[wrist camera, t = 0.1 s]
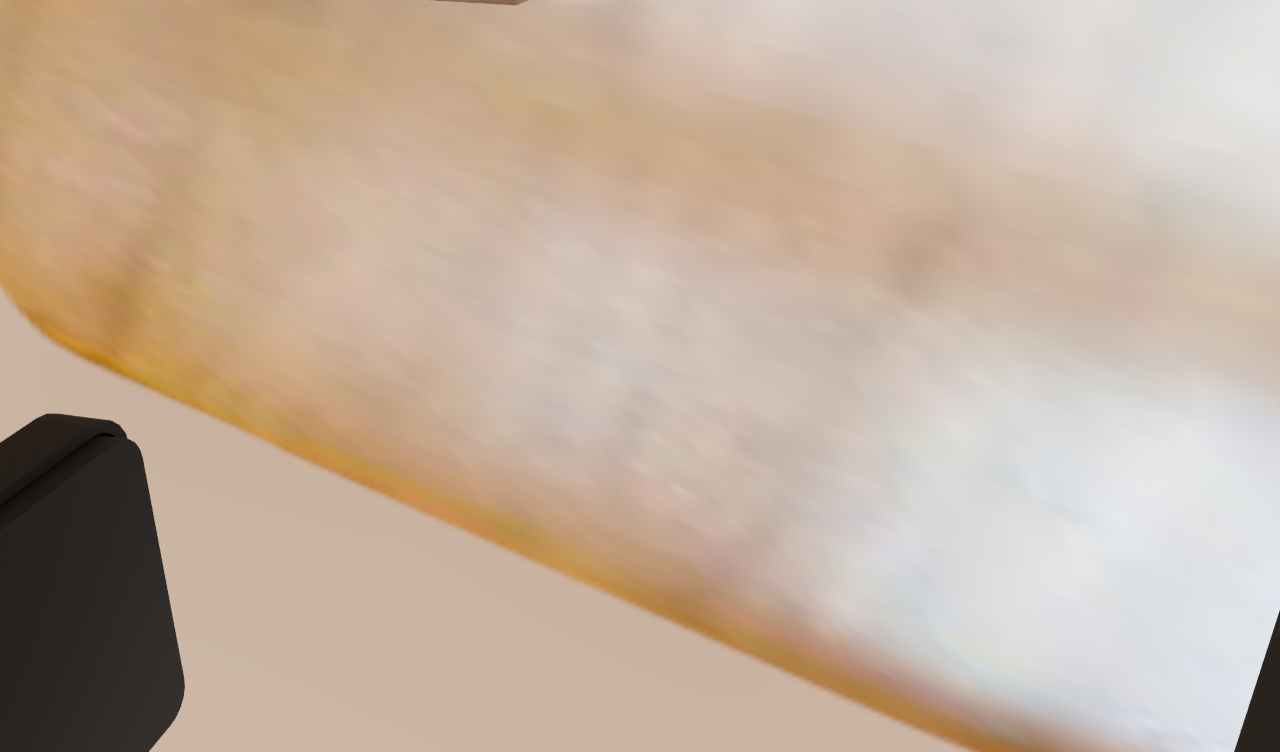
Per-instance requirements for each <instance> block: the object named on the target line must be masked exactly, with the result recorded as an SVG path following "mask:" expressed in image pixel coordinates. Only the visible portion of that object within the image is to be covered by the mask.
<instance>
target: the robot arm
mask: <svg viewBox="0 0 1280 752" xmlns="http://www.w3.org/2000/svg"><path fill="white" fill-rule="evenodd" d="M184 689H185V684H184V675H183V670H182V665H181V659H180V654H179V649H178V643H177V638H176V632H175V627H174V622H173V617H172V611H171V606H170V600H169V595H168V590H167V585H166V579H165V574H164V569H163V563H162V558H161V553H160V547H159V543H158V537H157V531H156V527H155V521H154V515H153V511H152V505H151V500H150V494H149V489H148V484H147V479H146V473H145V468H144V462H143V458H142V454H141V451H140V449H139V447H138V446H137V445H136V443H135V442H133V441H131V440H129V439H127V436H126V433H125V432H124V431H123V429H122V428H121V427H120V425H118V424H116V423H114V422H113V421H110V420H103V419H95V418H87V417H79V416H71V415H64V414H45V415H43V416H41V417H39V418H36V419H35V420H33V421H32V422H30V423H29V424H28V425H26V426H25V427H23V428H22V429H20V430H19V431H17V432H16V433H14V434H13V435H11V436H10V437H8V438H7V439H5V440H4V441H2V442H1V443H0V752H149V751H150V749H151V748H152V747H153V746H154V745H155V743H156V742H157V741H158V740H159V738H160V737H161V736H162V735H163V734H164V733H165V731H166V730H167V729H168V728H169V727H170V725H171V724H172V722H173V721H174V719H175V718H176V716H177V714H178V712H179V710H180V707H181V704H182V700H183V696H184ZM1234 752H1280V612H1279V615H1278V618H1277V621H1276V624H1275V627H1274V630H1273V633H1272V636H1271V639H1270V643H1269V646H1268V649H1267V652H1266V655H1265V658H1264V661H1263V664H1262V667H1261V670H1260V674H1259V677H1258V680H1257V683H1256V686H1255V689H1254V692H1253V695H1252V698H1251V701H1250V704H1249V708H1248V711H1247V714H1246V717H1245V720H1244V723H1243V726H1242V729H1241V732H1240V735H1239V739H1238V742H1237V745H1236V748H1235V751H1234Z"/></svg>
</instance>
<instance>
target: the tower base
mask: <svg viewBox="0 0 1280 752" xmlns="http://www.w3.org/2000/svg"><path fill="white" fill-rule="evenodd" d="M437 1H454V2H471V3H488V4H505V5H518V4H520V3H523V2H525V1H527V0H437Z"/></svg>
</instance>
